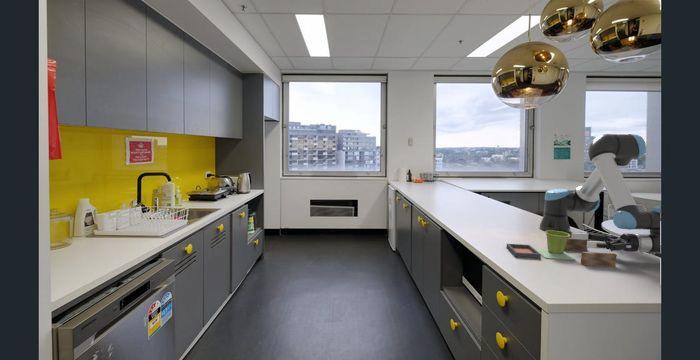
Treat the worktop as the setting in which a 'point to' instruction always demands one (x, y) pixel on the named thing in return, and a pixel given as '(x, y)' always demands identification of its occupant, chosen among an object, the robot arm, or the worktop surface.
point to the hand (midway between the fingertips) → (579, 239)
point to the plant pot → (556, 241)
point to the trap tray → (523, 251)
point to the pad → (554, 255)
